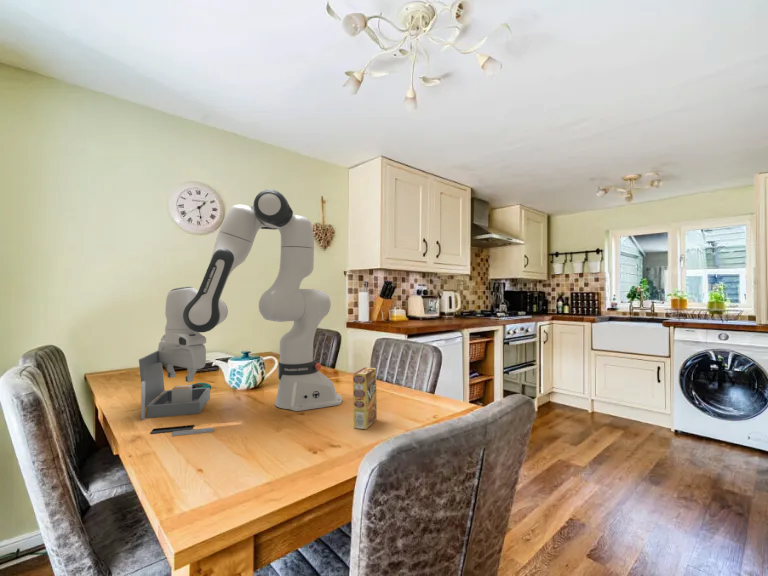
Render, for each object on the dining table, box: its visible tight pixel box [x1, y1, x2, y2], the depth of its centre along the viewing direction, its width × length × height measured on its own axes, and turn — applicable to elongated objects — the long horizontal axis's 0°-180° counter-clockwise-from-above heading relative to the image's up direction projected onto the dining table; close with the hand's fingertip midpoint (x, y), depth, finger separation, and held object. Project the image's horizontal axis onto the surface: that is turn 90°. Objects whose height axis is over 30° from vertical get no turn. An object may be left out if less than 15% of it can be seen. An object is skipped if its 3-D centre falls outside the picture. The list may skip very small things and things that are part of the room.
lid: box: [138, 349, 166, 408], centre depth 116 cm, size 14×18×1 cm
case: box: [140, 381, 211, 421], centre depth 118 cm, size 15×20×12 cm
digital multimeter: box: [191, 382, 212, 390], centre depth 138 cm, size 7×15×3 cm, turn 155°
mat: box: [149, 424, 195, 435], centre depth 105 cm, size 10×10×1 cm
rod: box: [171, 426, 215, 437], centre depth 99 cm, size 10×1×1 cm, turn 107°
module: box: [171, 384, 192, 403], centre depth 119 cm, size 5×4×6 cm
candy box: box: [352, 367, 378, 430], centre depth 106 cm, size 9×4×15 cm, turn 162°
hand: (180, 379), depth 119 cm, fingers open, 8 cm apart
